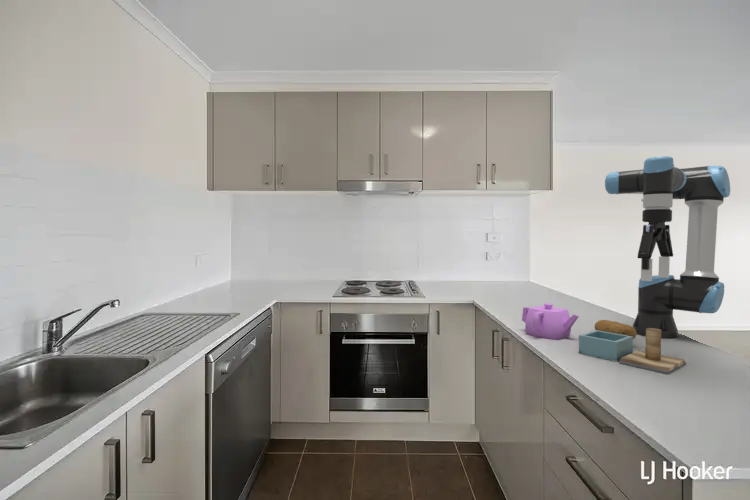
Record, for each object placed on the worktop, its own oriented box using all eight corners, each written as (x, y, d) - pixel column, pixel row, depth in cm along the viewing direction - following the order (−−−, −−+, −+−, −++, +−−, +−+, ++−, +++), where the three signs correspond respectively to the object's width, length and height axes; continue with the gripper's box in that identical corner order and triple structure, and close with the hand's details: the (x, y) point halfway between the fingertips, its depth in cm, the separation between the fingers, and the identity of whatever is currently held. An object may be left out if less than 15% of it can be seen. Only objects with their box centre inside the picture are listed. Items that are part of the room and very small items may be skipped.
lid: (638, 353, 144) (639, 323, 143) (685, 363, 133) (686, 330, 133) (620, 360, 135) (621, 328, 135) (669, 371, 125) (670, 336, 125)
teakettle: (519, 329, 181) (520, 300, 180) (561, 330, 180) (561, 300, 180) (533, 340, 164) (533, 307, 163) (579, 340, 163) (580, 307, 163)
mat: (639, 354, 144) (639, 353, 144) (686, 364, 134) (686, 362, 134) (619, 363, 135) (619, 361, 135) (667, 374, 125) (667, 372, 125)
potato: (627, 350, 150) (628, 326, 150) (588, 341, 162) (589, 319, 162) (642, 346, 155) (643, 323, 155) (603, 337, 167) (604, 317, 167)
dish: (595, 347, 154) (596, 330, 154) (632, 354, 144) (633, 336, 144) (578, 353, 146) (579, 335, 146) (616, 361, 137) (617, 342, 137)
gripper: (659, 210, 143) (657, 275, 144) (626, 208, 128) (624, 281, 129) (686, 209, 137) (684, 277, 138) (655, 207, 122) (652, 283, 123)
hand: (655, 279), depth 133 cm, fingers open, 13 cm apart
